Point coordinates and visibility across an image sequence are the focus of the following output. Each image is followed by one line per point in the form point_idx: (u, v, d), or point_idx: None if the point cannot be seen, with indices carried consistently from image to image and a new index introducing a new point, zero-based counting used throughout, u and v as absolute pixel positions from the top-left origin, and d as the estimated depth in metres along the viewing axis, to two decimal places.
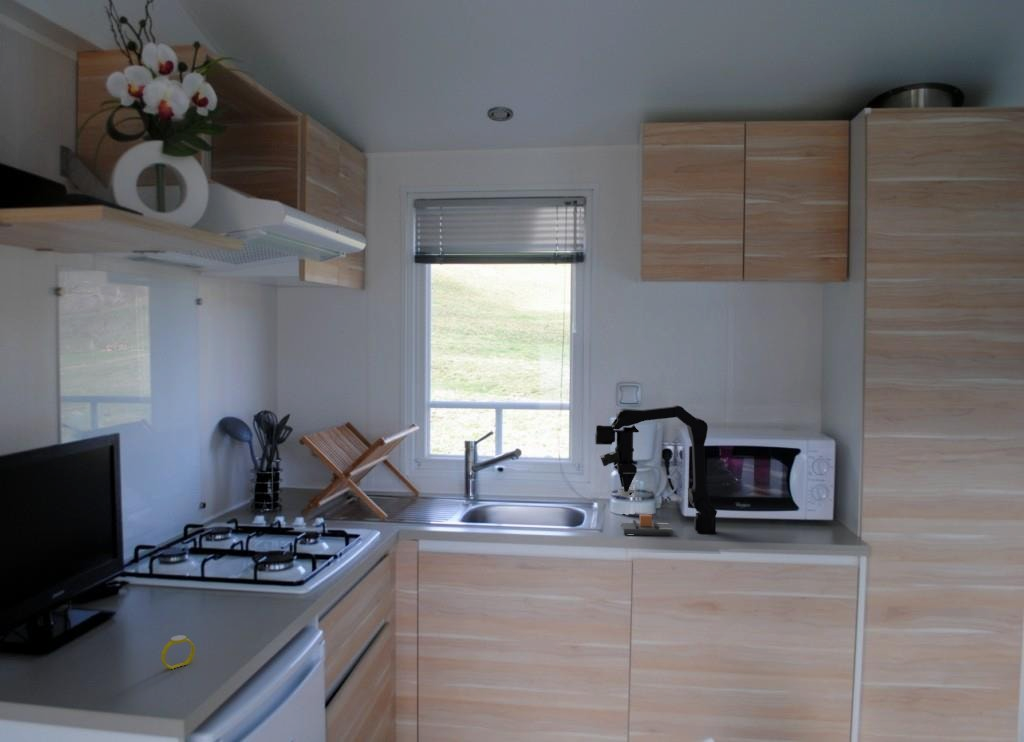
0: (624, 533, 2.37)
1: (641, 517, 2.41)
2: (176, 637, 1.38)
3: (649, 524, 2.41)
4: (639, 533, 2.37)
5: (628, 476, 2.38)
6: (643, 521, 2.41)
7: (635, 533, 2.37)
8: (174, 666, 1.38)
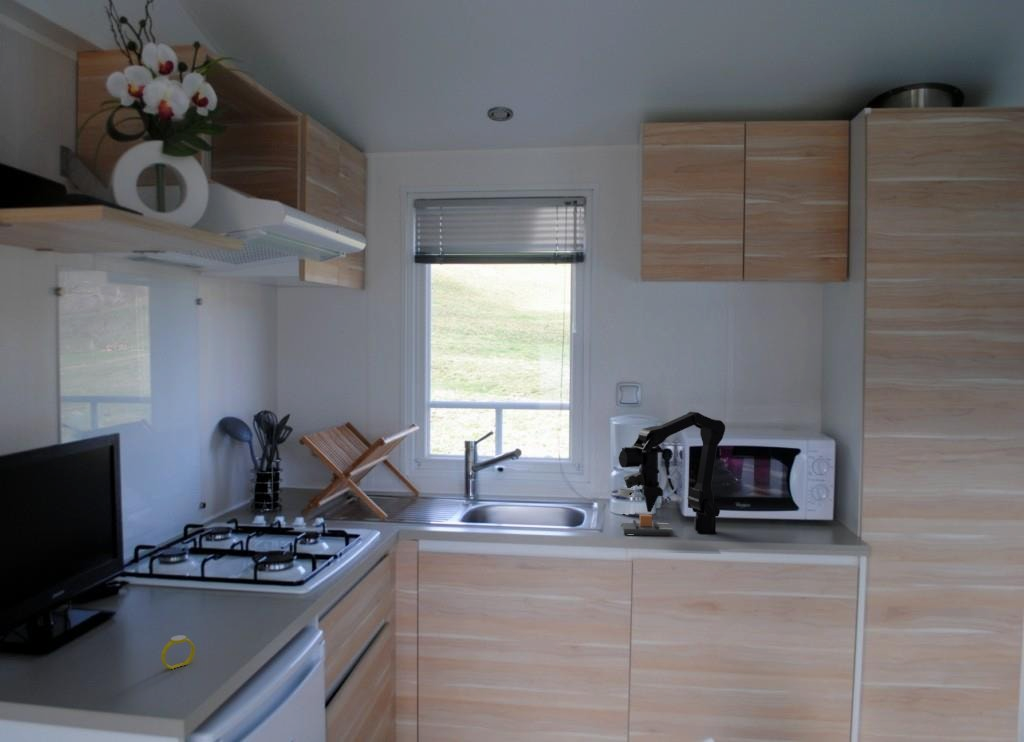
0: (624, 533, 2.37)
1: (641, 517, 2.41)
2: (176, 637, 1.38)
3: (649, 524, 2.41)
4: (639, 533, 2.37)
5: (651, 496, 2.33)
6: (643, 521, 2.41)
7: (635, 533, 2.37)
8: (174, 666, 1.38)
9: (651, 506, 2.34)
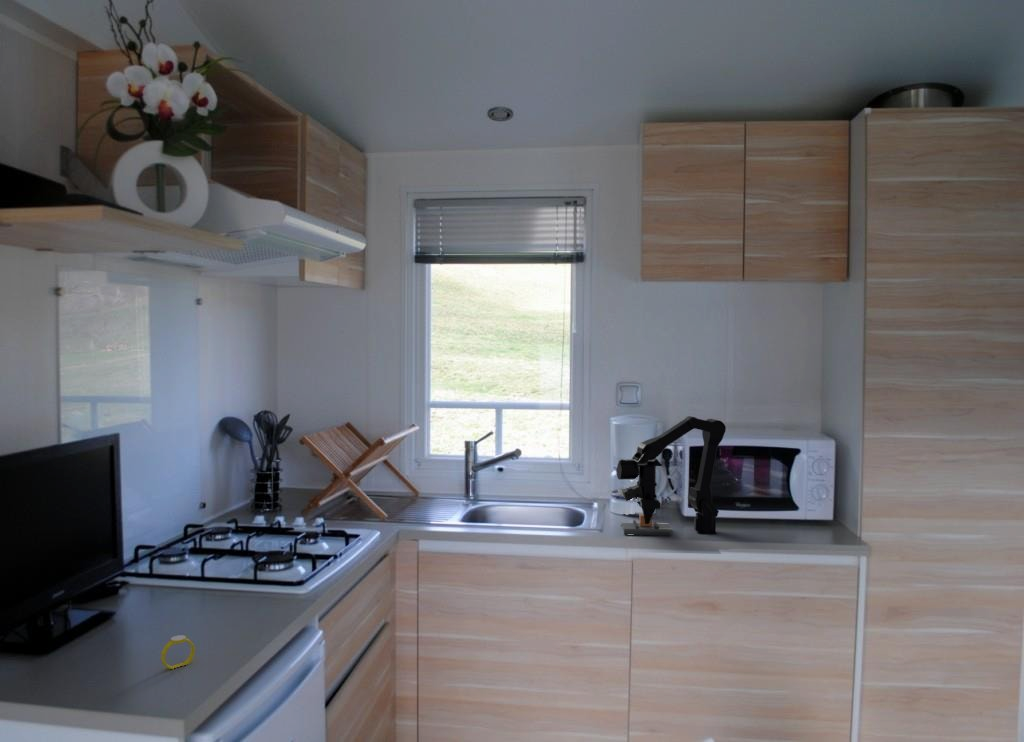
0: (624, 533, 2.37)
1: (641, 517, 2.41)
2: (176, 637, 1.38)
3: (649, 524, 2.41)
4: (639, 533, 2.37)
5: (649, 508, 2.38)
6: (643, 521, 2.41)
7: (635, 533, 2.37)
8: (174, 666, 1.38)
9: (649, 518, 2.39)
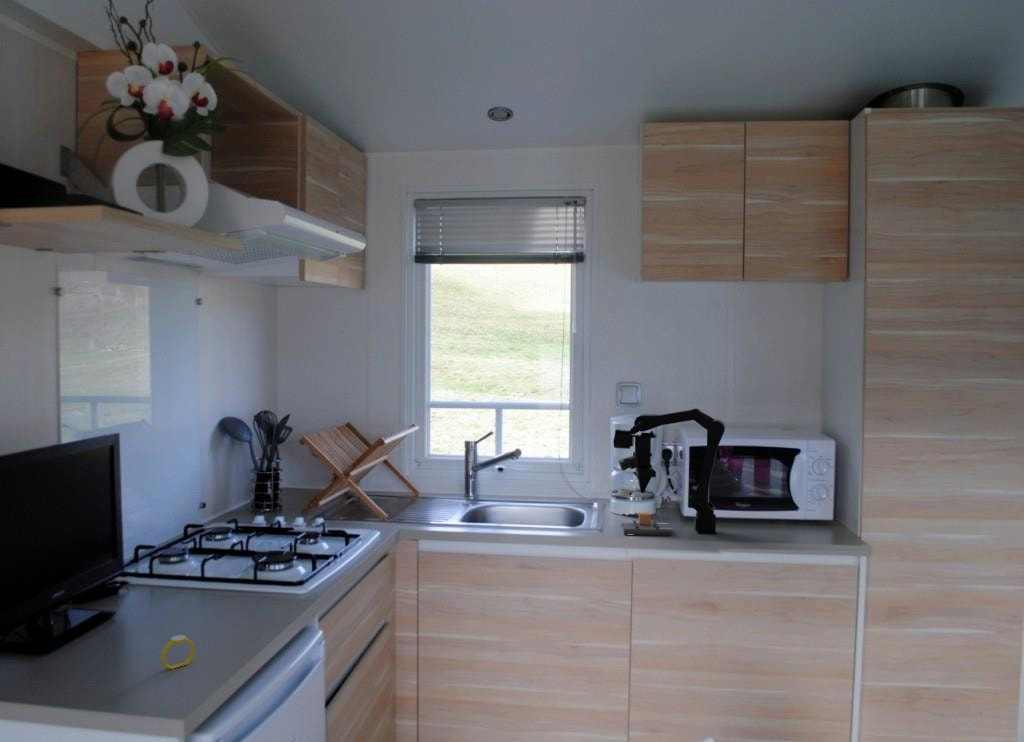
0: (624, 533, 2.37)
1: (640, 515, 2.43)
2: (176, 637, 1.38)
3: (648, 522, 2.43)
4: (639, 533, 2.37)
5: (645, 478, 2.48)
6: (642, 520, 2.43)
7: (635, 533, 2.37)
8: (174, 666, 1.38)
9: (644, 487, 2.49)
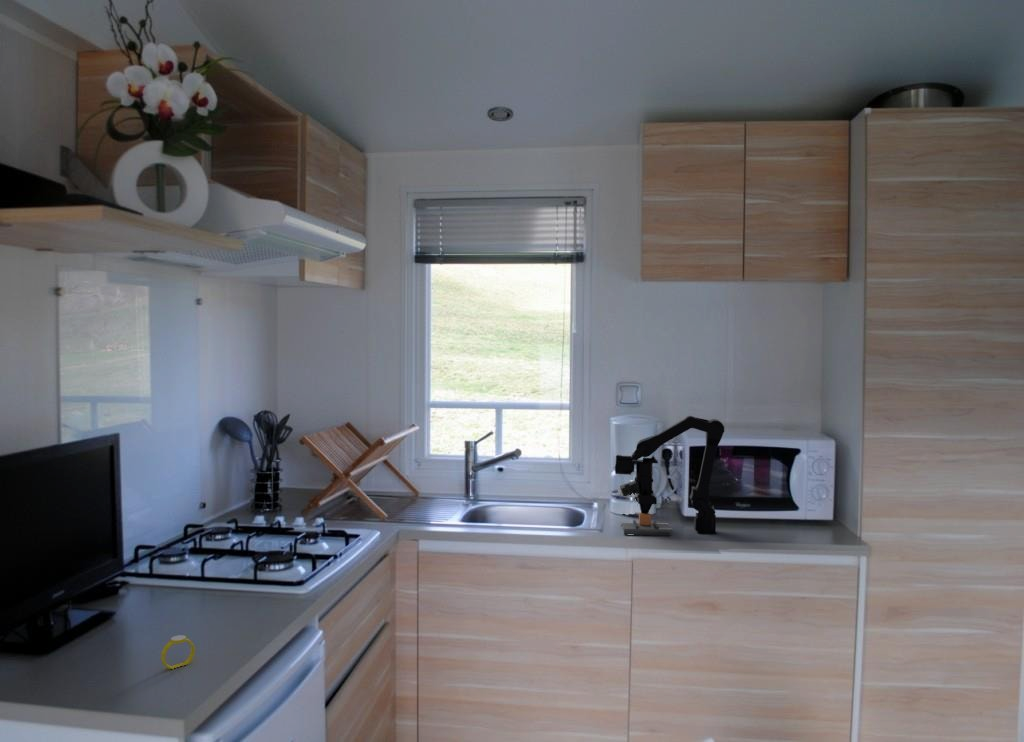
0: (624, 533, 2.37)
1: (640, 516, 2.43)
2: (176, 637, 1.38)
3: (648, 523, 2.43)
4: (639, 533, 2.37)
5: (646, 504, 2.45)
6: (642, 520, 2.43)
7: (635, 533, 2.37)
8: (174, 666, 1.38)
9: None
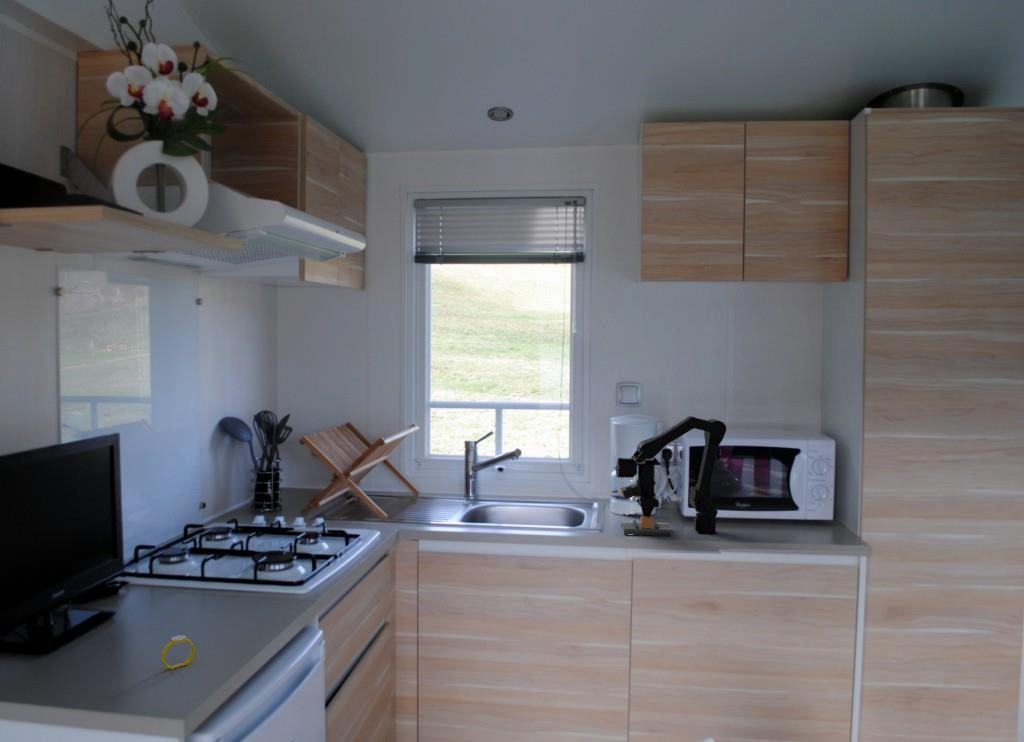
0: (624, 533, 2.37)
1: (642, 519, 2.38)
2: (176, 637, 1.38)
3: (650, 526, 2.38)
4: (639, 533, 2.37)
5: (648, 507, 2.41)
6: (644, 523, 2.38)
7: (635, 533, 2.37)
8: (174, 666, 1.38)
9: None
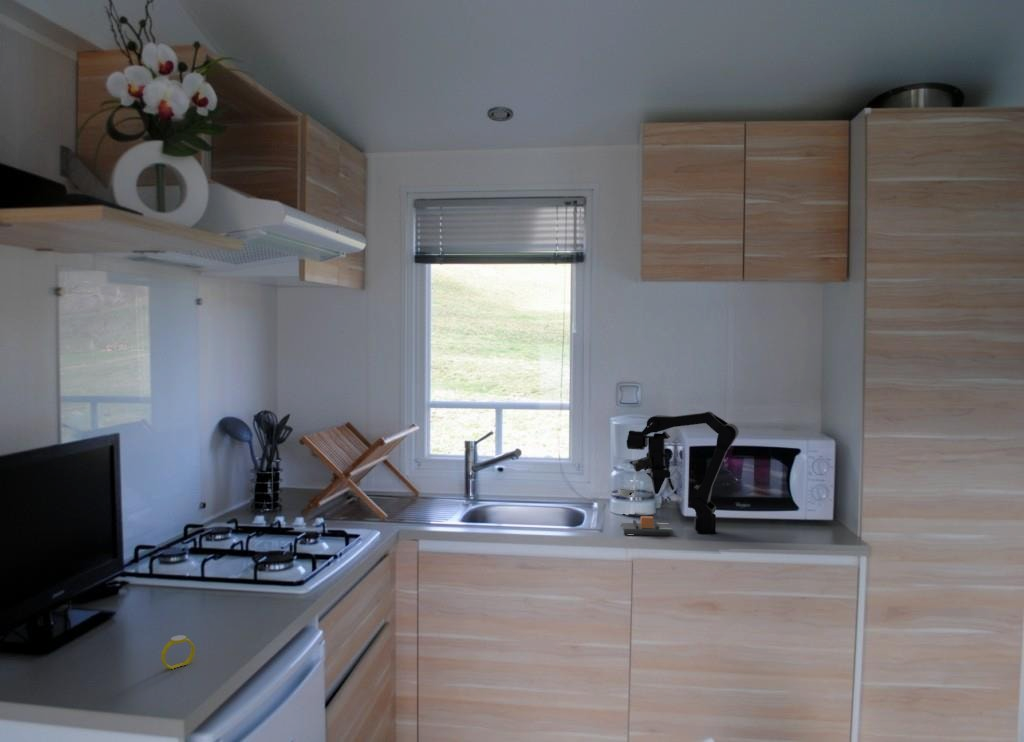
0: (624, 533, 2.37)
1: (642, 519, 2.38)
2: (176, 637, 1.38)
3: (650, 526, 2.38)
4: (639, 533, 2.37)
5: (659, 479, 2.48)
6: (644, 523, 2.38)
7: (635, 533, 2.37)
8: (174, 666, 1.38)
9: (658, 488, 2.49)
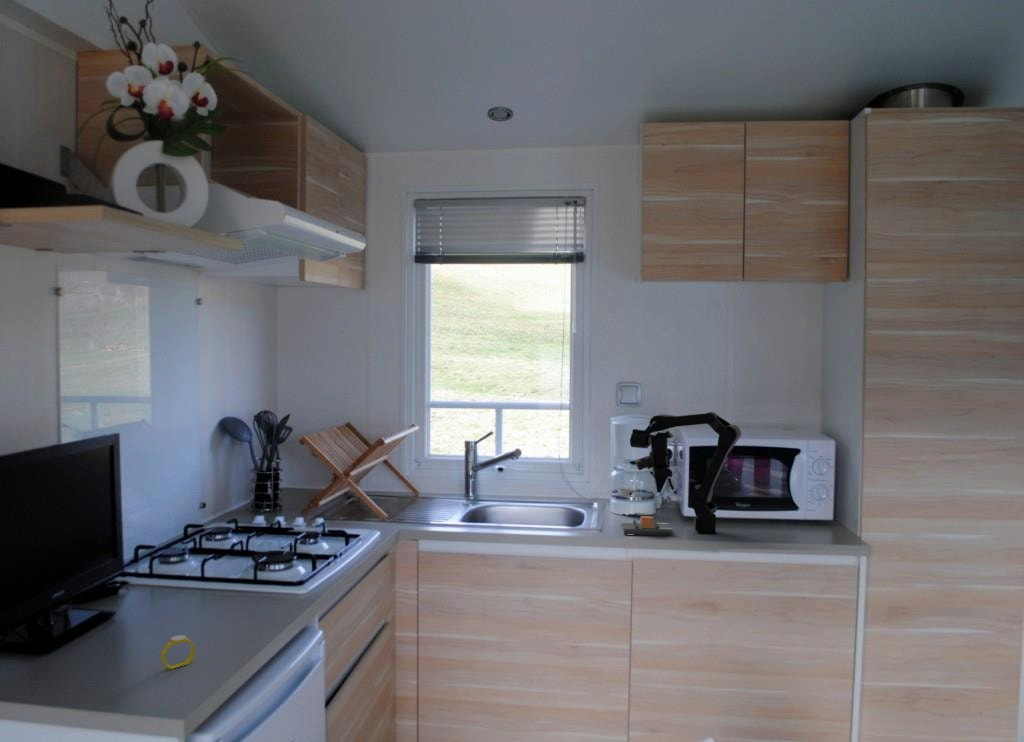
0: (624, 533, 2.37)
1: (642, 519, 2.38)
2: (176, 637, 1.38)
3: (650, 526, 2.38)
4: (639, 533, 2.37)
5: (661, 478, 2.49)
6: (644, 523, 2.38)
7: (635, 533, 2.37)
8: (174, 666, 1.38)
9: (661, 487, 2.50)
